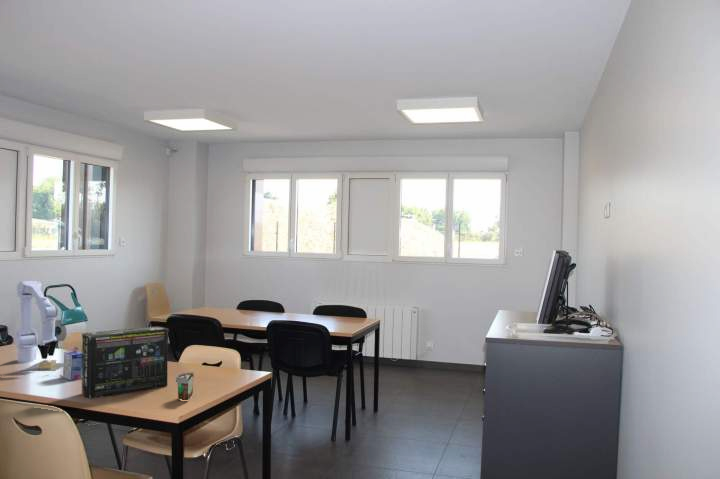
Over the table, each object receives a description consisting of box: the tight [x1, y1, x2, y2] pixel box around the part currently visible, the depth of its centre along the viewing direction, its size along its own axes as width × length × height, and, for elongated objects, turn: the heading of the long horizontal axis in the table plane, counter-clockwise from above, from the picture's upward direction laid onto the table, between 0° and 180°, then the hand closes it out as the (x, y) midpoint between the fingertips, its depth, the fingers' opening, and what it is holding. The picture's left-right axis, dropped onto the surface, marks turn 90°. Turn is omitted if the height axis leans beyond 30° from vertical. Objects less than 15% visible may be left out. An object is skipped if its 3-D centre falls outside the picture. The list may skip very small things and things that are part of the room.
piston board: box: [21, 359, 64, 372], centre depth 293 cm, size 18×16×5 cm
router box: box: [81, 325, 169, 399], centre depth 257 cm, size 36×11×27 cm, turn 133°
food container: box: [175, 371, 195, 400], centre depth 245 cm, size 12×6×10 cm, turn 5°
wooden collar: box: [38, 359, 57, 370], centre depth 290 cm, size 6×6×4 cm
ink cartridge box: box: [62, 346, 82, 381], centre depth 276 cm, size 10×6×14 cm, turn 48°
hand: (47, 357), depth 290 cm, fingers open, 7 cm apart
